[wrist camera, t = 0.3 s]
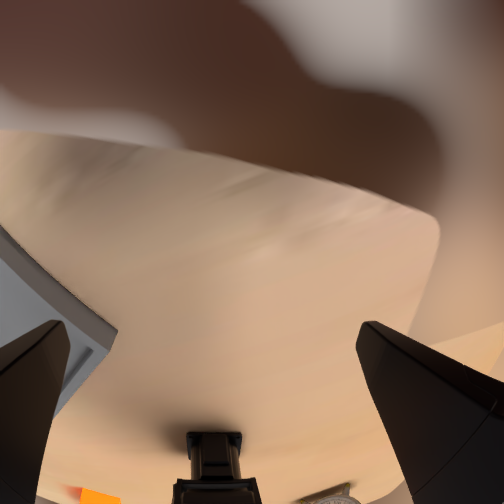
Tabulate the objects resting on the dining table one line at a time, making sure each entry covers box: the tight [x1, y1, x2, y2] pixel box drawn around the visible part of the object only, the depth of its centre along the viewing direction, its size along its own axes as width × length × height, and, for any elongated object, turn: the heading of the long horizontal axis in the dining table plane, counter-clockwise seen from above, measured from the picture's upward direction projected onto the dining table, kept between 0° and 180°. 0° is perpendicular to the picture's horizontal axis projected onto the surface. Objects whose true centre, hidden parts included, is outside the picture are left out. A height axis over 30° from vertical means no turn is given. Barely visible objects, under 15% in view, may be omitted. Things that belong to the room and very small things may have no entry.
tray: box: [0, 226, 118, 419], centre depth 21 cm, size 18×16×3 cm
